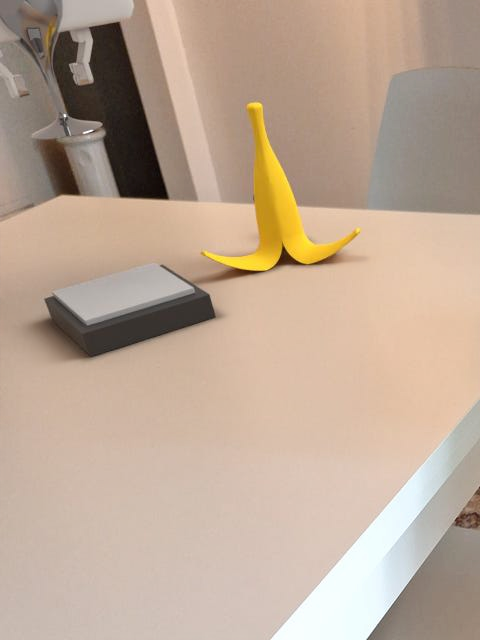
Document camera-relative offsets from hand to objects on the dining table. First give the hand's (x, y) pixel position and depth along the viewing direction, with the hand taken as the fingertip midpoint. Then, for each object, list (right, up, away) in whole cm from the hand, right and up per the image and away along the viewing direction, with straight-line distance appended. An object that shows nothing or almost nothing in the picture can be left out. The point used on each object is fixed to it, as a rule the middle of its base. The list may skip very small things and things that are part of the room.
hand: (52, 90), depth 92 cm
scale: (+4, -19, +10) cm, 22 cm away
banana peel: (+21, -8, +21) cm, 31 cm away
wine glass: (0, -3, +3) cm, 4 cm away
